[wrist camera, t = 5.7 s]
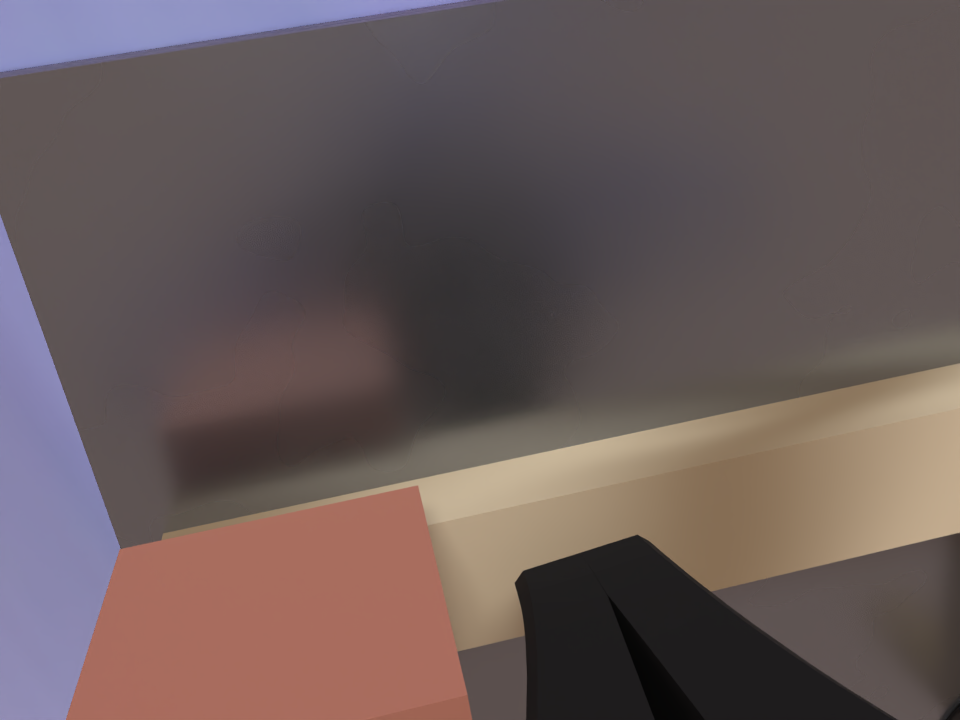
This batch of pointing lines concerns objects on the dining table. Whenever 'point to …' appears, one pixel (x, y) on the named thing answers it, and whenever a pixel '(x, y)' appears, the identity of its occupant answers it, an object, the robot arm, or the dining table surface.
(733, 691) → the robot arm
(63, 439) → the dining table surface
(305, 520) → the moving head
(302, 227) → the bolt plate
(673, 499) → the beam
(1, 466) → the dining table surface
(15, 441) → the dining table surface
